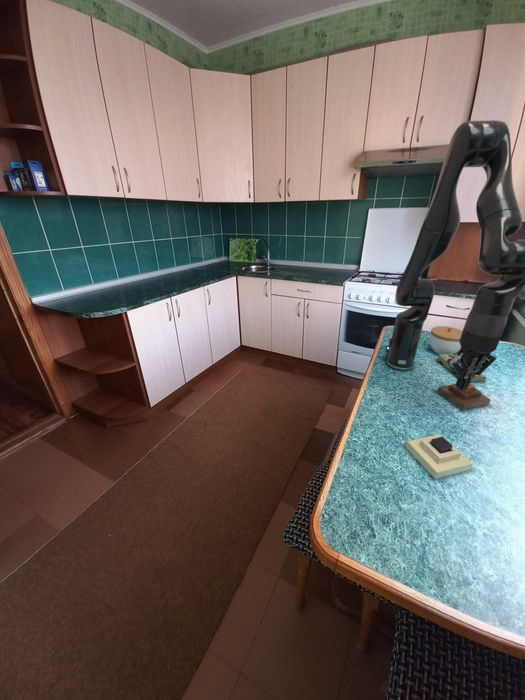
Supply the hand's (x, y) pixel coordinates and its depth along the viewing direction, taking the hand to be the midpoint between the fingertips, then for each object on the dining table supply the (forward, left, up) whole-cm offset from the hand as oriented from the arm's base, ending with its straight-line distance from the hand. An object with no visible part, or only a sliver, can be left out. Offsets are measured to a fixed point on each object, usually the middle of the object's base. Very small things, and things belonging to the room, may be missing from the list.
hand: (460, 388), depth 77 cm
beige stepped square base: (+9, -12, -13) cm, 20 cm away
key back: (-9, +14, -9) cm, 18 cm away
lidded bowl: (-37, +33, -13) cm, 51 cm away
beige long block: (-23, +27, -13) cm, 37 cm away
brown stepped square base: (-9, +14, -13) cm, 20 cm away
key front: (+9, -12, -9) cm, 18 cm away
